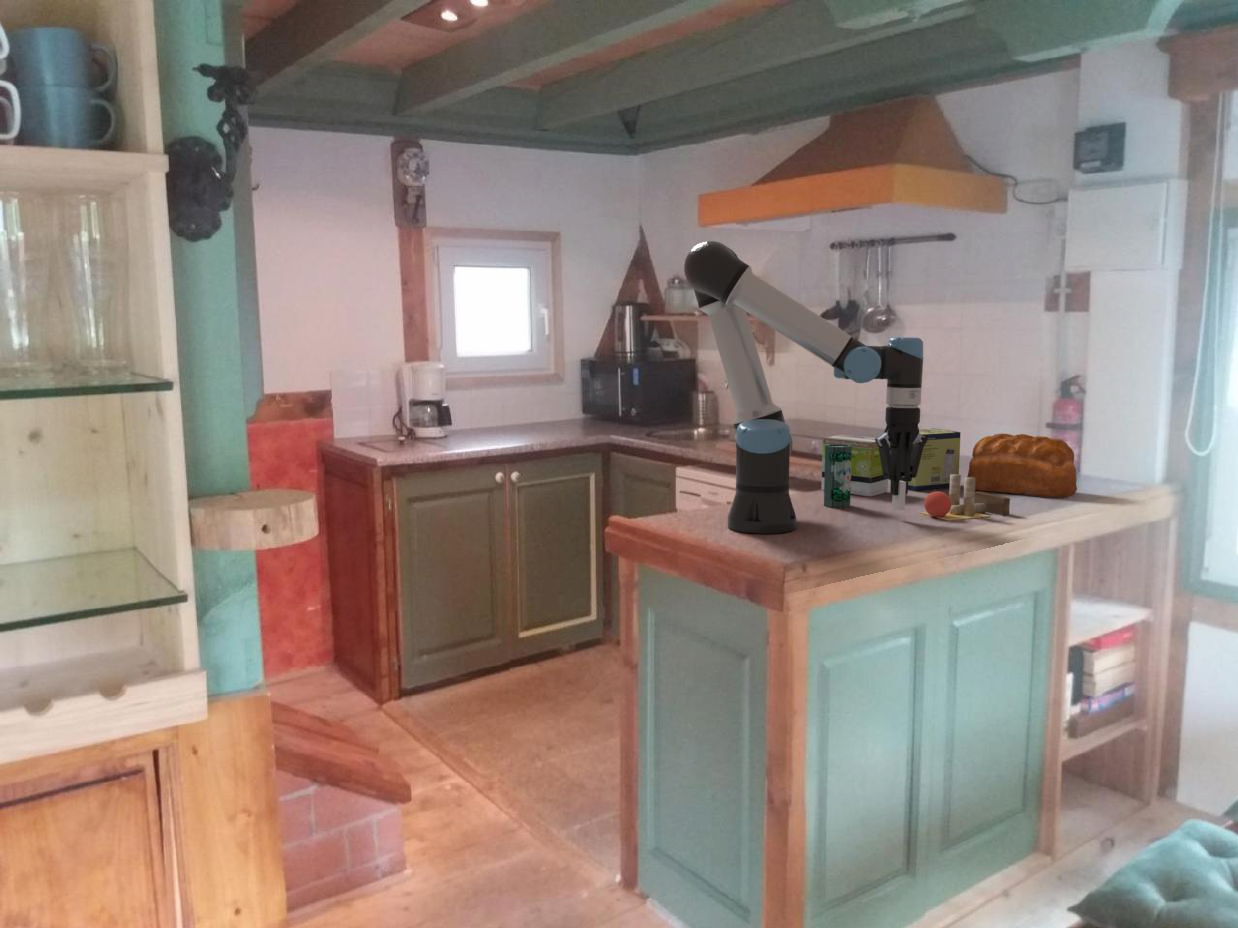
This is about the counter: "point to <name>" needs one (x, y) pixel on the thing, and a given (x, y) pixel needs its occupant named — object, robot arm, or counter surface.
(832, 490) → the can
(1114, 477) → the counter surface
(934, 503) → the ball
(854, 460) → the tea box
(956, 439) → the protein box
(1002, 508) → the back rail
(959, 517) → the plate
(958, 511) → the pin front
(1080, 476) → the counter surface
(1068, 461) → the bread
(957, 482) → the pin rear left
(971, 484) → the pin rear right
